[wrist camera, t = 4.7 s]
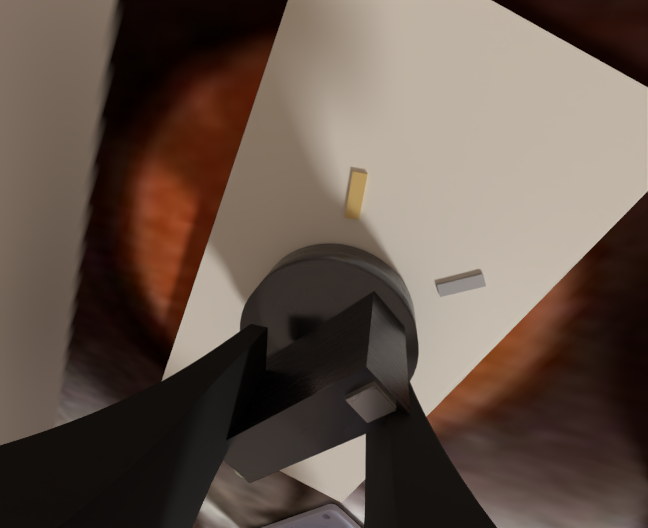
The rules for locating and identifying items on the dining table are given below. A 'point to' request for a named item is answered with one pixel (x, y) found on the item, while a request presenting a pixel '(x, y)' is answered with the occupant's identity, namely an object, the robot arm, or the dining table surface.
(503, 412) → the dining table surface
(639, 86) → the base plate
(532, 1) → the dining table surface
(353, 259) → the knob
